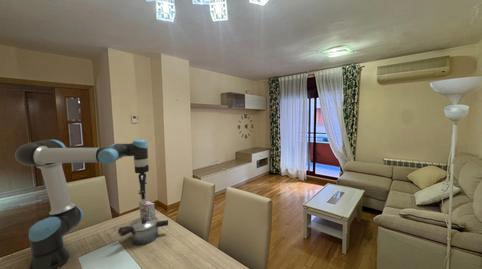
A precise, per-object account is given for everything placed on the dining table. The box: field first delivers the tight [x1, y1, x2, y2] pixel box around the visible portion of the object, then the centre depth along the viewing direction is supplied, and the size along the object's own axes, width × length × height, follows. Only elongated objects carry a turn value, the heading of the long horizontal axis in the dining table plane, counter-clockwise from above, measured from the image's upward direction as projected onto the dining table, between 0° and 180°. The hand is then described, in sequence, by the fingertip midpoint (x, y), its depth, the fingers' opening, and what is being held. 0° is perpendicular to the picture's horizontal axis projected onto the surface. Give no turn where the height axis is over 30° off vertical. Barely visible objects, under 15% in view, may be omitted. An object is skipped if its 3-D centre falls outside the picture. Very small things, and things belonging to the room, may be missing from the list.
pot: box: [118, 219, 169, 247], centre depth 122 cm, size 28×15×9 cm, turn 106°
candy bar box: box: [138, 199, 156, 218], centre depth 136 cm, size 11×5×16 cm, turn 58°
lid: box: [118, 215, 159, 237], centre depth 119 cm, size 22×16×3 cm
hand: (143, 199), depth 118 cm, fingers open, 13 cm apart
